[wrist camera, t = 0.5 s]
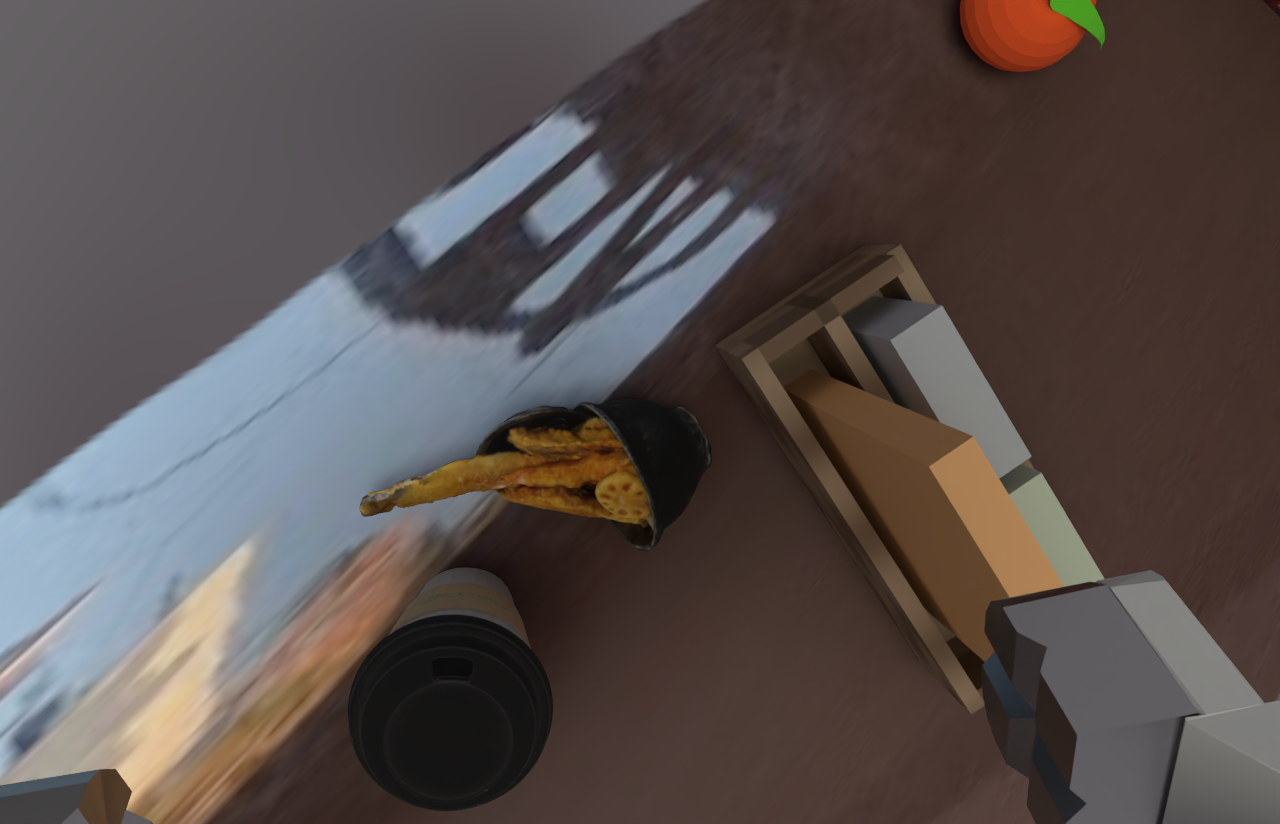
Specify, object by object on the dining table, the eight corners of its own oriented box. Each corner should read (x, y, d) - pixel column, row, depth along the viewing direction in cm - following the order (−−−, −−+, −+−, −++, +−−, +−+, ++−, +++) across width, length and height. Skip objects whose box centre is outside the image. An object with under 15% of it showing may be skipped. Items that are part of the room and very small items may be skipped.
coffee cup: (505, 511, 61) (501, 595, 47) (570, 651, 63) (587, 774, 48) (355, 578, 61) (304, 684, 46) (425, 716, 63) (397, 861, 48)
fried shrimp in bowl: (752, 532, 58) (460, 694, 52) (649, 450, 67) (386, 581, 60) (732, 392, 53) (406, 553, 47) (623, 323, 62) (334, 450, 55)
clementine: (1091, 11, 61) (1166, -20, 54) (1025, 115, 61) (1091, 98, 54) (982, -71, 59) (1045, -113, 52) (916, 37, 60) (969, 9, 53)
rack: (1058, 567, 66) (1126, 608, 58) (920, 662, 66) (971, 714, 58) (863, 244, 61) (911, 243, 54) (714, 345, 61) (741, 359, 54)
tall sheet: (947, 586, 64) (1169, 760, 42) (920, 604, 64) (1128, 789, 42) (810, 368, 60) (973, 436, 39) (781, 388, 60) (928, 466, 39)
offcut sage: (1031, 556, 64) (1124, 613, 54) (990, 584, 64) (1076, 645, 54) (958, 437, 62) (1041, 472, 52) (916, 465, 62) (991, 506, 52)
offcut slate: (950, 423, 62) (1031, 456, 52) (908, 451, 62) (981, 490, 52) (872, 295, 60) (942, 305, 50) (829, 325, 60) (890, 340, 50)
